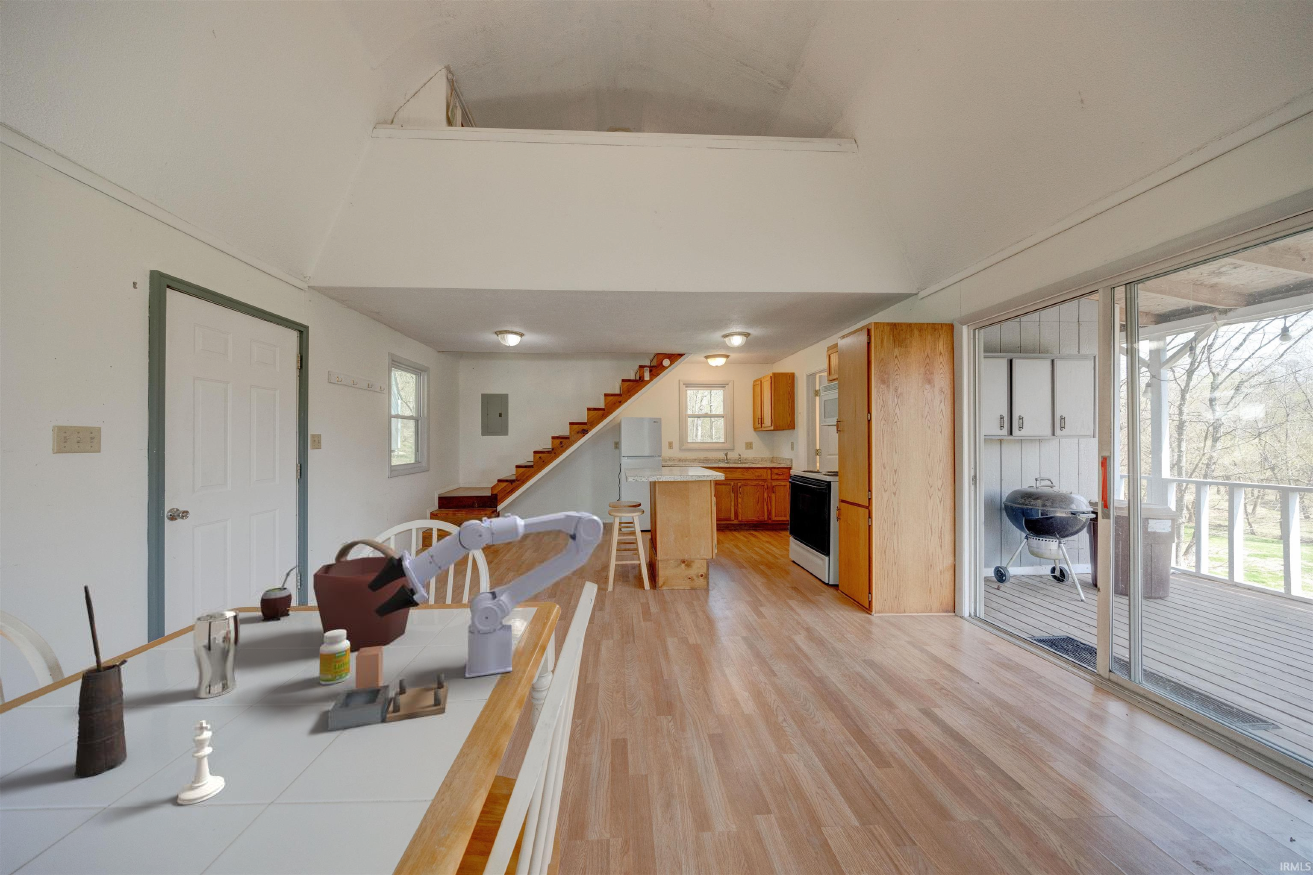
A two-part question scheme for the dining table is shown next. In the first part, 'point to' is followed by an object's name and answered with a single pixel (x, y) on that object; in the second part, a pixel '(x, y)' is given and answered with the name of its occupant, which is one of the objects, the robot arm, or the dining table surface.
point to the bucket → (359, 598)
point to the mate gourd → (276, 602)
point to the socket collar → (359, 707)
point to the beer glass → (216, 652)
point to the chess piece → (201, 771)
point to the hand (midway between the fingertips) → (374, 600)
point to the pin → (369, 667)
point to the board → (418, 701)
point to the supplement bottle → (334, 658)
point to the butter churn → (100, 713)
